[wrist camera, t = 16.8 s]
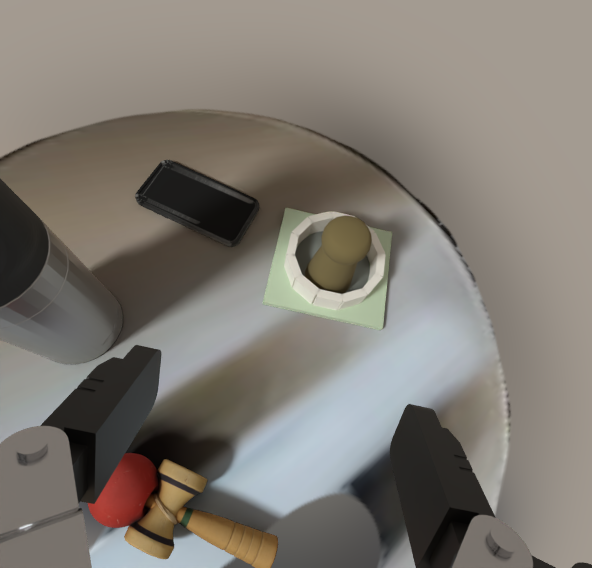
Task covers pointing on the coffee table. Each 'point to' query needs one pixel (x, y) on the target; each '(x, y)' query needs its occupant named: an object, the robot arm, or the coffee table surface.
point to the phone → (198, 202)
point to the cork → (339, 254)
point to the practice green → (311, 300)
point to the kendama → (172, 512)
